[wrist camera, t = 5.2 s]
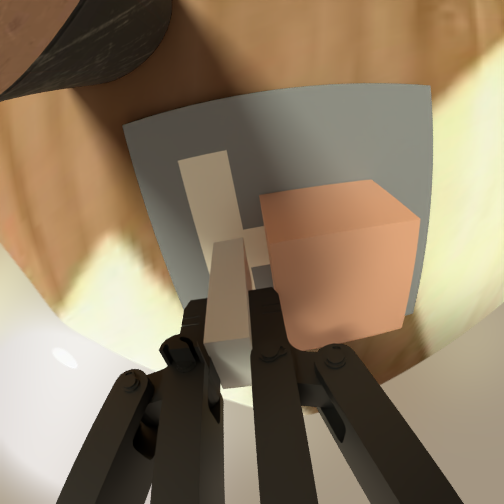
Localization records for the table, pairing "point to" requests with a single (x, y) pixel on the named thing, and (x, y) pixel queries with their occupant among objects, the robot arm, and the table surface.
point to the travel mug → (75, 42)
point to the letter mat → (275, 166)
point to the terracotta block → (340, 260)
